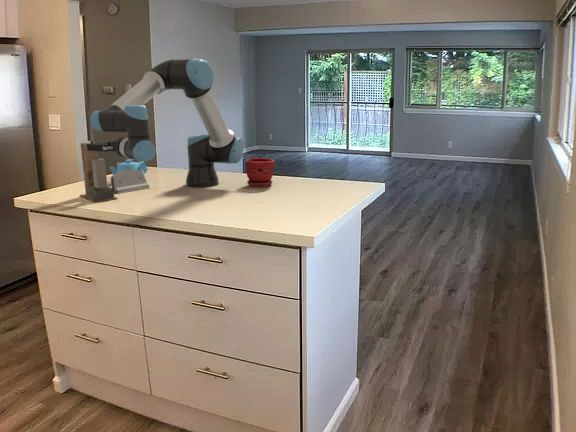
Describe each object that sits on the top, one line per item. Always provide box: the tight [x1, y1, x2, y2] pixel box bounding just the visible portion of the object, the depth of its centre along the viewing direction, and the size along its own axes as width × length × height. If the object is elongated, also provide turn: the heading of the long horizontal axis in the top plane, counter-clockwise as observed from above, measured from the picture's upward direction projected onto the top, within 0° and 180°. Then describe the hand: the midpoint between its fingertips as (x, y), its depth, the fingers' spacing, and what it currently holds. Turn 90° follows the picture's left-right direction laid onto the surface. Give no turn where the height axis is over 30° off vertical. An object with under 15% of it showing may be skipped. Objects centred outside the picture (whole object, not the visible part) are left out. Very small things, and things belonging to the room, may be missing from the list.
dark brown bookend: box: [79, 142, 118, 203], centre depth 238 cm, size 17×10×23 cm, turn 40°
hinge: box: [110, 170, 150, 194], centre depth 255 cm, size 17×5×10 cm, turn 137°
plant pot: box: [245, 158, 275, 188], centre depth 261 cm, size 13×13×12 cm
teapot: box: [109, 158, 148, 178], centre depth 276 cm, size 15×15×11 cm
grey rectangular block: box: [92, 158, 108, 190], centre depth 235 cm, size 4×4×16 cm
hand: (104, 142), depth 224 cm, fingers open, 13 cm apart
